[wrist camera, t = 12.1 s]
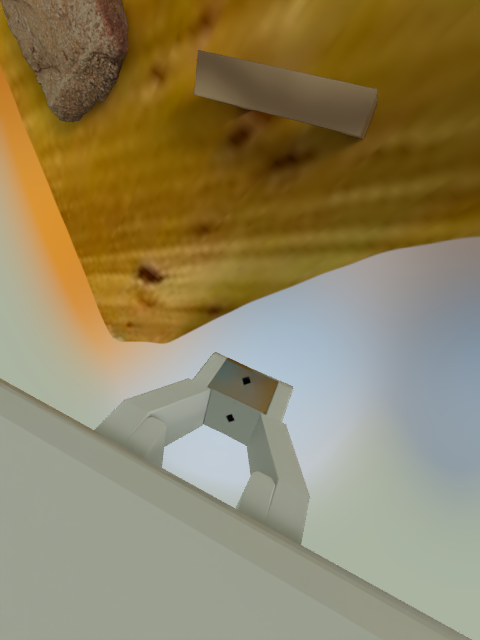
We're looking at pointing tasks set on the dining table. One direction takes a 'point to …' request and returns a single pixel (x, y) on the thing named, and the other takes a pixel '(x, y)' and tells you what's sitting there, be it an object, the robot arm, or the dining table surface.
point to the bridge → (286, 93)
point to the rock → (71, 49)
